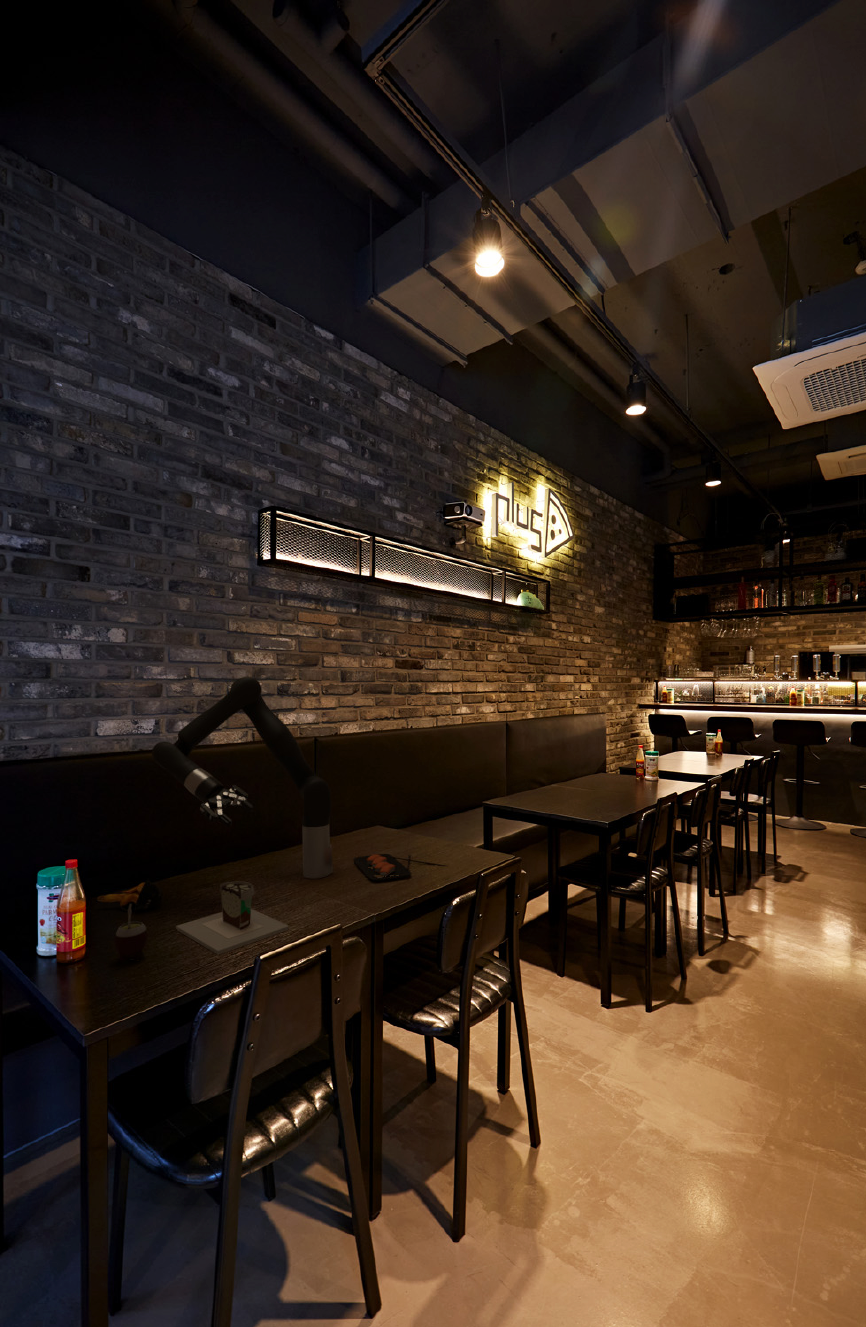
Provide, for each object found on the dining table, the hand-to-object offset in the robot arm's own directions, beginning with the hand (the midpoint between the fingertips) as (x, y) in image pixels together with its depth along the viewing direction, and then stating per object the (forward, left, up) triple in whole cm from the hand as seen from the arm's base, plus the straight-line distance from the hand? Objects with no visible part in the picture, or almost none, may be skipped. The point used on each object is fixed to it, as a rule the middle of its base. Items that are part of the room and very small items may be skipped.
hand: (241, 817), depth 182 cm
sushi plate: (-58, +8, -27) cm, 64 cm away
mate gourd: (+36, +11, -27) cm, 46 cm away
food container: (+8, +14, -25) cm, 30 cm away
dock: (+11, +13, -26) cm, 32 cm away
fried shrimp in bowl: (+23, -25, -27) cm, 43 cm away
